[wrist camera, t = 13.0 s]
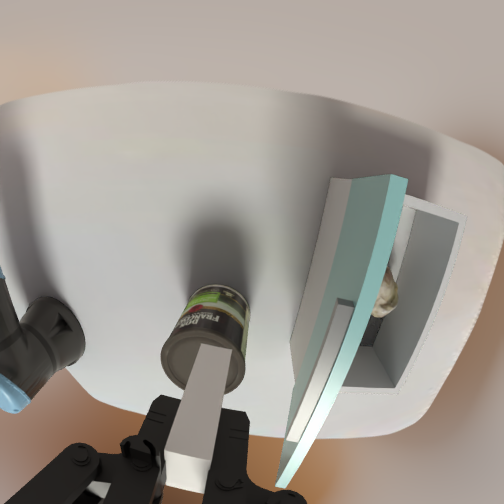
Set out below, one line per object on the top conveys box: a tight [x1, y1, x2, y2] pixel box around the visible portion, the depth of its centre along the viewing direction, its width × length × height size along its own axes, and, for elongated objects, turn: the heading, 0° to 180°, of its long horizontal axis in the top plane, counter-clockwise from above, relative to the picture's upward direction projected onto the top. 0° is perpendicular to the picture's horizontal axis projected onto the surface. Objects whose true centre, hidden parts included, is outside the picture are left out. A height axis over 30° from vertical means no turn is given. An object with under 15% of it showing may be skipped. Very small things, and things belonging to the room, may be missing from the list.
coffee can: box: [161, 284, 250, 395], centre depth 39 cm, size 10×10×14 cm
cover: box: [275, 174, 408, 488], centre depth 25 cm, size 16×27×2 cm
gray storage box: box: [290, 178, 467, 394], centre depth 38 cm, size 16×27×12 cm, turn 169°
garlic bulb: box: [371, 266, 399, 317], centre depth 40 cm, size 9×8×10 cm
